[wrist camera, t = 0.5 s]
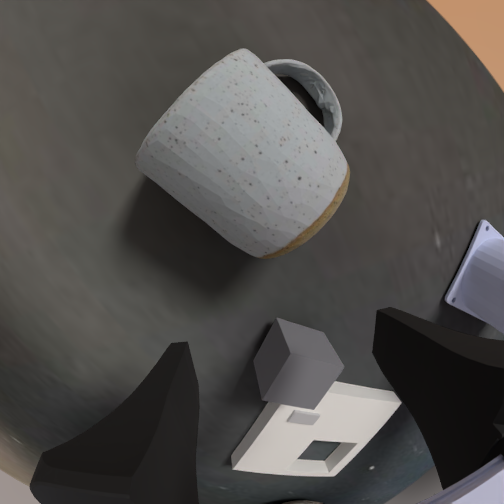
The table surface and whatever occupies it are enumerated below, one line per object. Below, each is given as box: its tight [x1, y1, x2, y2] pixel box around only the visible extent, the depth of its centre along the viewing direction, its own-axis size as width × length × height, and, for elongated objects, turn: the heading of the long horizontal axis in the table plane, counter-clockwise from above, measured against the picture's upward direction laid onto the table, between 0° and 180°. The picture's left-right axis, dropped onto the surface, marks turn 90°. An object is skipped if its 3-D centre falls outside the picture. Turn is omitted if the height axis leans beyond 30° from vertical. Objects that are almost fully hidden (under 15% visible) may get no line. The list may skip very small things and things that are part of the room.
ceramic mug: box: [135, 49, 350, 259], centre depth 14 cm, size 11×8×8 cm
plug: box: [253, 317, 344, 410], centre depth 20 cm, size 4×4×5 cm
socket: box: [231, 381, 401, 476], centre depth 25 cm, size 12×12×2 cm
